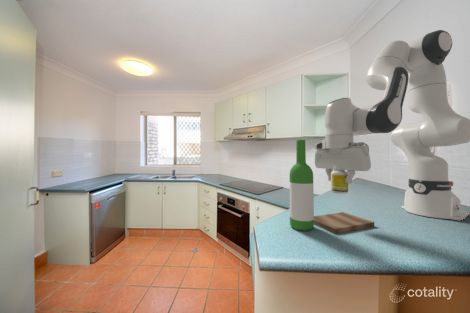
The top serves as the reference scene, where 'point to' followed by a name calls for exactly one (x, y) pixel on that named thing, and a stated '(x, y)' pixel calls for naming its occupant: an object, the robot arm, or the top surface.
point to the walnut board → (341, 222)
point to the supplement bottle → (339, 181)
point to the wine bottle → (301, 191)
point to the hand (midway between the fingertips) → (339, 182)
